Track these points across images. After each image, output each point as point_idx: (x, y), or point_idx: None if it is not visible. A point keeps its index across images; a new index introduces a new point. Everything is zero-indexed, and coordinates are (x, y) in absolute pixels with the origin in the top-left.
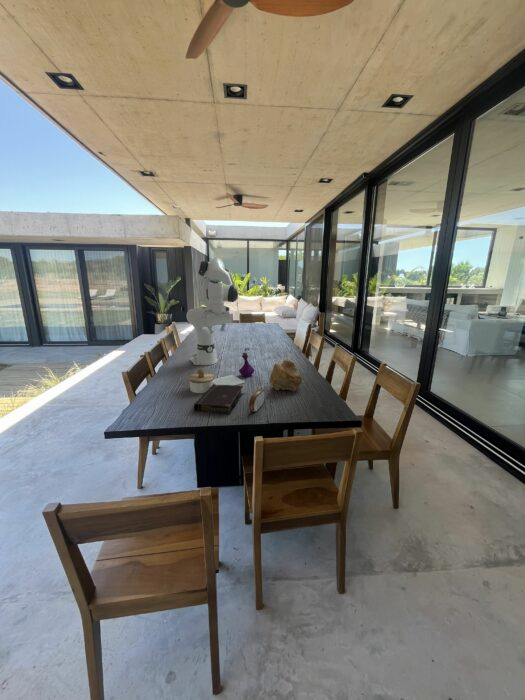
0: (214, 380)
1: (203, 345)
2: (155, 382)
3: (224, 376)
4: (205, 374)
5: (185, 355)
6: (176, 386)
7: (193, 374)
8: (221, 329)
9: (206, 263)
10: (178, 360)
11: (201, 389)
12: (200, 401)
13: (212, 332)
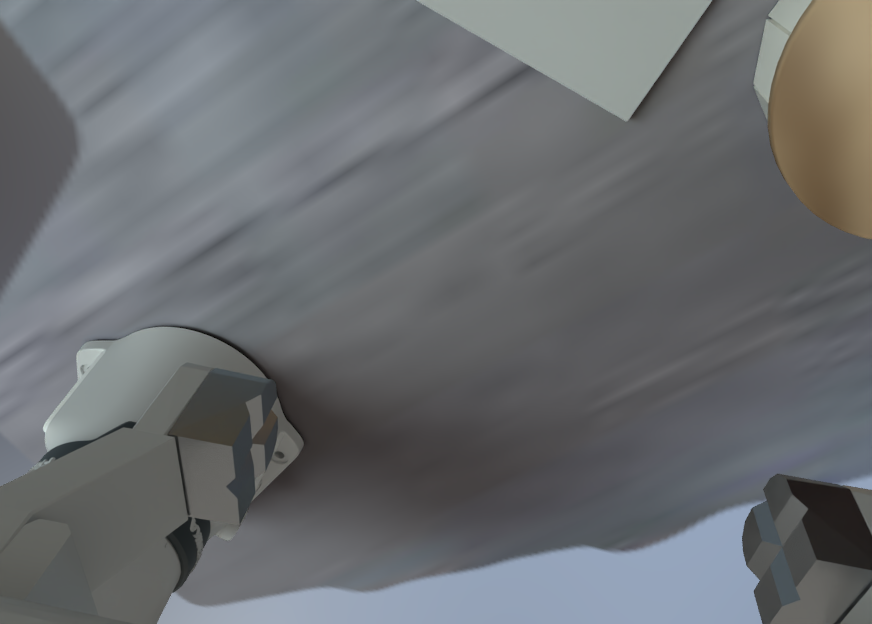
0: (621, 53)
1: (170, 536)
2: None
3: (452, 20)
4: (841, 95)
5: None
6: (861, 308)
7: (867, 230)
8: (244, 459)
9: None
10: (291, 570)
11: None
12: None
13: (852, 516)
